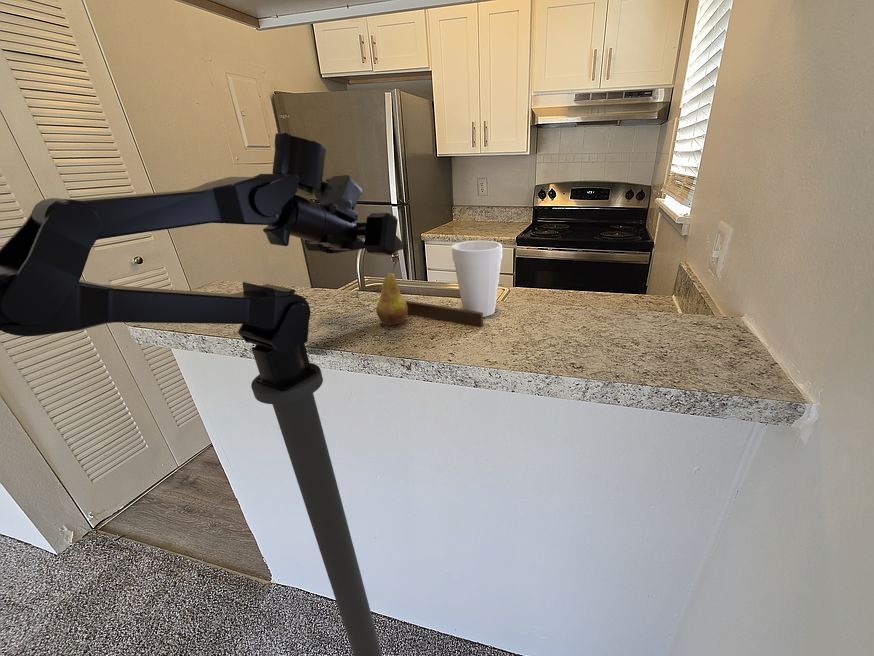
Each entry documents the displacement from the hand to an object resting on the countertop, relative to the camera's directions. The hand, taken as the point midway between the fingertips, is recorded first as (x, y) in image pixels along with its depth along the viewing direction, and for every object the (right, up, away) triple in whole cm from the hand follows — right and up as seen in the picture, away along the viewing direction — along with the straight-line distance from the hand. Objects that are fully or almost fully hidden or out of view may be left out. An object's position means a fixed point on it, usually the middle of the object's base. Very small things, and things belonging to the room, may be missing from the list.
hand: (383, 245), depth 75 cm
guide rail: (+9, -13, +4) cm, 17 cm away
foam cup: (+18, -12, +6) cm, 22 cm away
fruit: (+2, -14, +2) cm, 15 cm away
